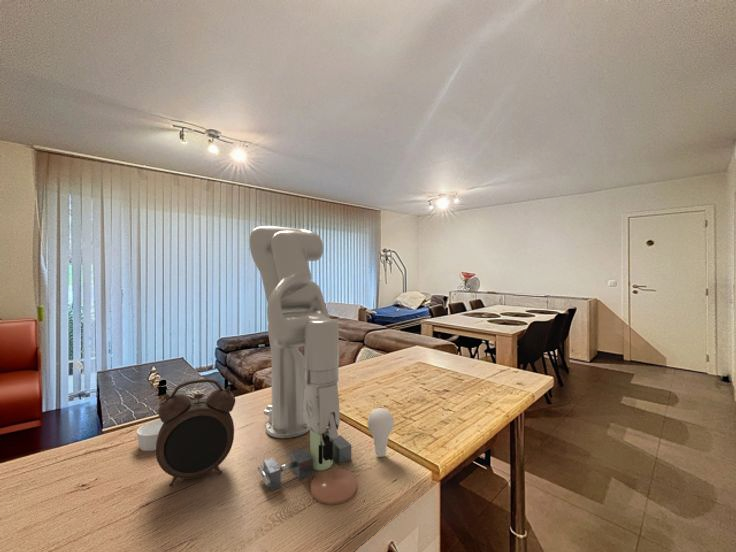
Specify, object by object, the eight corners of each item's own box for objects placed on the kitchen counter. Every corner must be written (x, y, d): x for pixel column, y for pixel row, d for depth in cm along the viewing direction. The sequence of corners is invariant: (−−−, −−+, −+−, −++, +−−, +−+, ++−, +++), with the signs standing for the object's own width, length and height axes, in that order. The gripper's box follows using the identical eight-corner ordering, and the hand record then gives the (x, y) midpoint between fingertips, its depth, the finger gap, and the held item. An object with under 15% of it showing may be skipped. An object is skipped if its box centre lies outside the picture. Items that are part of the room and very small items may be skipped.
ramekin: (144, 457, 72) (144, 439, 72) (131, 445, 77) (131, 427, 77) (185, 441, 79) (185, 424, 79) (170, 430, 85) (170, 414, 84)
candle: (327, 454, 73) (327, 419, 73) (336, 466, 69) (336, 428, 69) (306, 461, 70) (306, 425, 70) (315, 473, 66) (315, 435, 66)
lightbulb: (392, 465, 69) (392, 416, 69) (364, 462, 70) (364, 413, 70) (395, 450, 75) (395, 404, 75) (370, 447, 76) (370, 402, 76)
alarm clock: (153, 498, 59) (153, 392, 59) (158, 476, 65) (158, 380, 65) (236, 475, 66) (236, 380, 65) (234, 457, 72) (233, 370, 72)
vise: (257, 477, 65) (257, 460, 65) (339, 448, 75) (339, 434, 75) (265, 494, 60) (265, 476, 60) (352, 461, 70) (352, 445, 70)
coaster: (301, 493, 60) (301, 488, 60) (329, 468, 68) (329, 463, 68) (340, 511, 56) (340, 505, 56) (365, 482, 63) (365, 477, 63)
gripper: (292, 368, 74) (292, 445, 74) (322, 389, 60) (322, 483, 61) (321, 363, 78) (321, 436, 78) (355, 381, 65) (355, 470, 65)
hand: (321, 456), depth 70 cm, fingers closed on candle, 3 cm apart
